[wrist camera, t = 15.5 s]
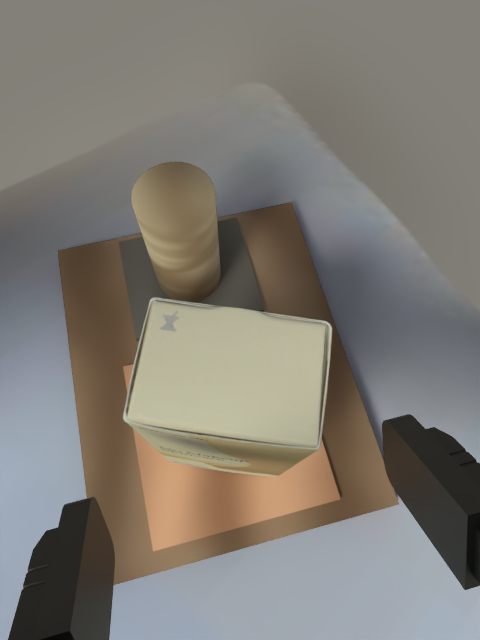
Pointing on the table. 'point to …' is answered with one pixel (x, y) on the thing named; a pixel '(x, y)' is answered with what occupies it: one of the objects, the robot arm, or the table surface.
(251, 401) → the skincare box
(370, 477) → the board
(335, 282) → the table surface
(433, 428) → the robot arm
